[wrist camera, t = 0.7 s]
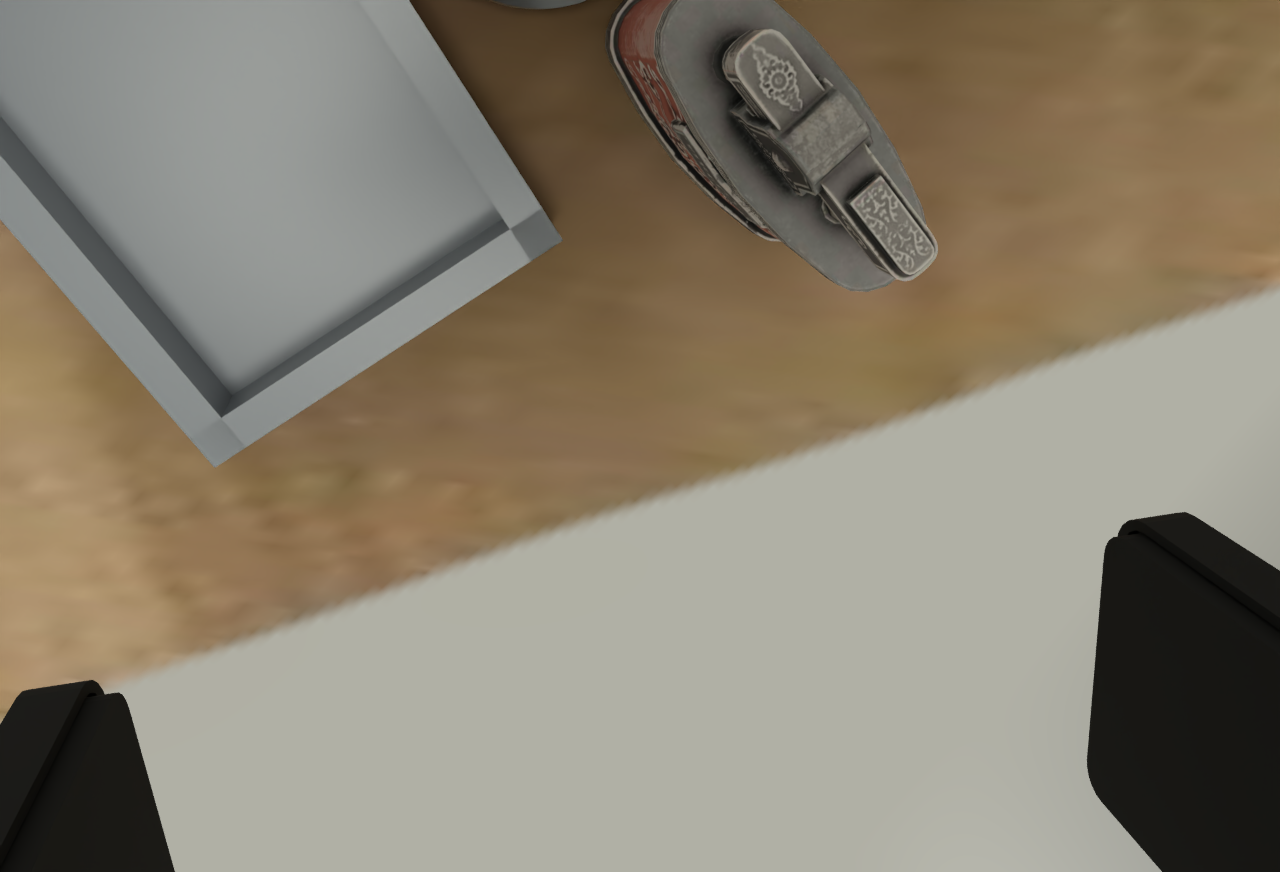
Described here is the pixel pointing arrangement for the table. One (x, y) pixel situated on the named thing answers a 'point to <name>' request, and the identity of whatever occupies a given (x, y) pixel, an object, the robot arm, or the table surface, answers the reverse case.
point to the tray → (252, 192)
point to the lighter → (773, 133)
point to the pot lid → (536, 3)
